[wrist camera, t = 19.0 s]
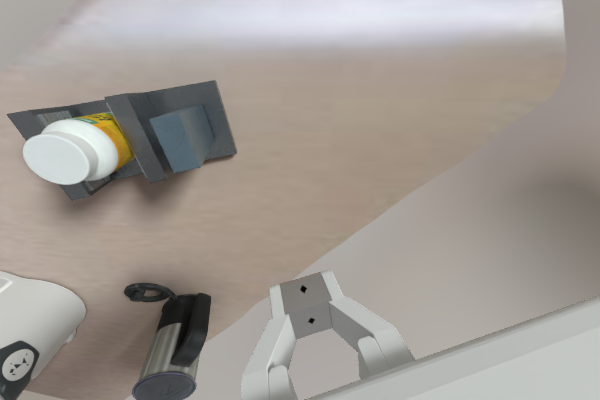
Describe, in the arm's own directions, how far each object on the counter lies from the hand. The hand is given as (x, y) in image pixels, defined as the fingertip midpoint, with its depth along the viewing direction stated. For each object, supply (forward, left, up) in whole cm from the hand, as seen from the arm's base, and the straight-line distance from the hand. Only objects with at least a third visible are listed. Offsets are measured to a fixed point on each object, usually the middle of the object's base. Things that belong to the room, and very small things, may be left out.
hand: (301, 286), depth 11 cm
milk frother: (-26, -27, -29) cm, 47 cm away
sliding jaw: (-11, +5, -28) cm, 30 cm away
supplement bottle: (-18, +6, -28) cm, 34 cm away
